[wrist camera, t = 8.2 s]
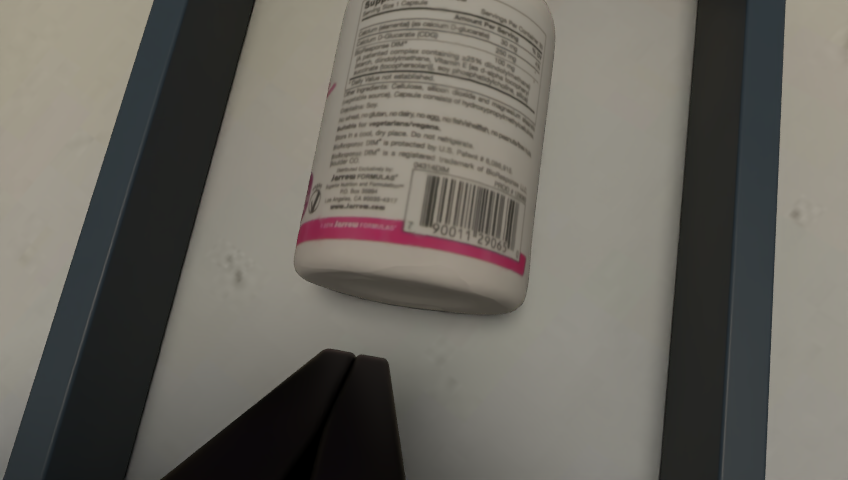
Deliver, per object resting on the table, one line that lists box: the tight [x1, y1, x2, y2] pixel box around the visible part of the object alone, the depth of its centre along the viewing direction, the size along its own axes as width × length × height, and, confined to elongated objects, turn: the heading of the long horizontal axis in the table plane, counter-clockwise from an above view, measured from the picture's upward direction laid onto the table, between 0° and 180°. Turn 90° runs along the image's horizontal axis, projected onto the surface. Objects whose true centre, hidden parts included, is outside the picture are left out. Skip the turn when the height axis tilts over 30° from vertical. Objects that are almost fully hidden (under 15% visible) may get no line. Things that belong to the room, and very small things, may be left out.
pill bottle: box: [294, 0, 555, 315], centre depth 13 cm, size 5×5×8 cm
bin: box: [3, 0, 786, 480], centre depth 13 cm, size 18×14×3 cm
